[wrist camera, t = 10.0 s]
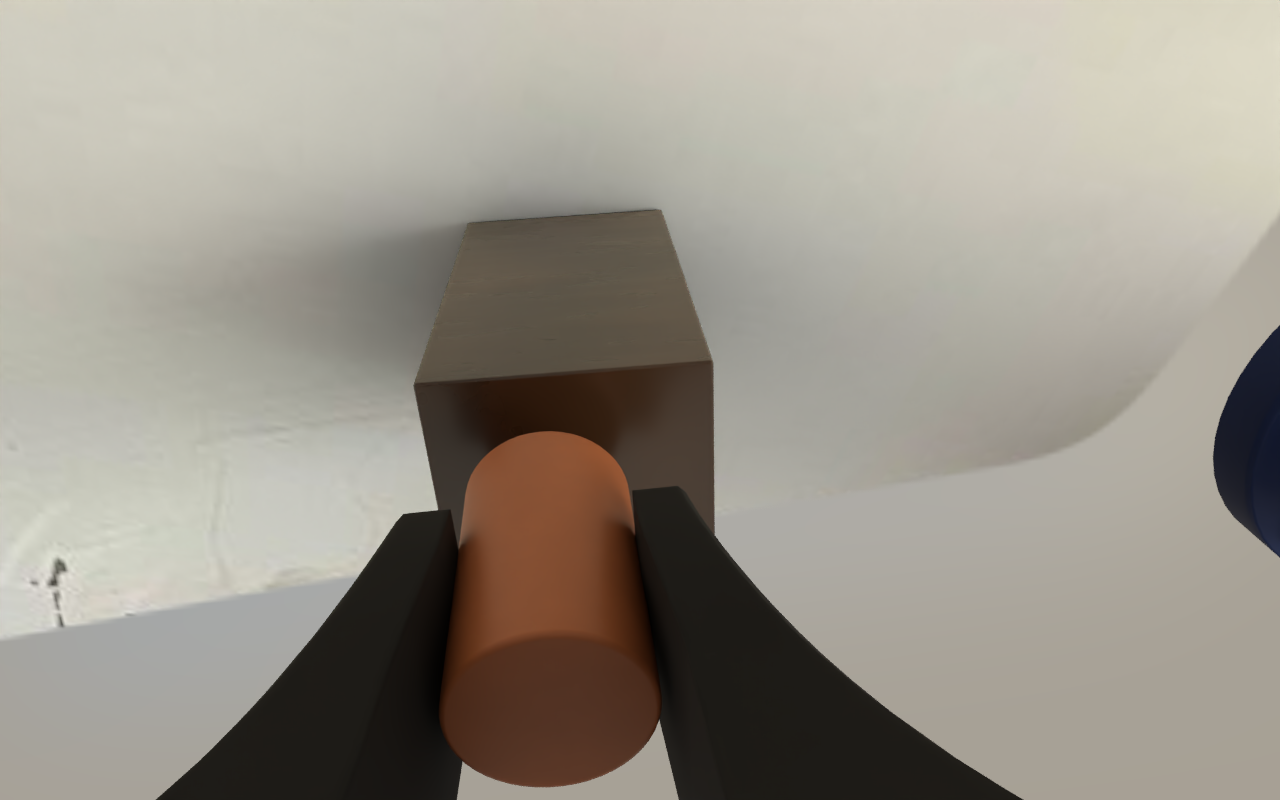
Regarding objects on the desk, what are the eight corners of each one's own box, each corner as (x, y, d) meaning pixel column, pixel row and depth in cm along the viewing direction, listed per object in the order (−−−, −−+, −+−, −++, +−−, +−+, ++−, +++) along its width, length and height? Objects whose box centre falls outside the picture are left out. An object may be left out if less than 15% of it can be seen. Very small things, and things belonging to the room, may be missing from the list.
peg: (623, 421, 12) (658, 621, 9) (632, 553, 13) (666, 775, 10) (452, 437, 12) (419, 649, 8) (478, 569, 13) (457, 802, 10)
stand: (661, 208, 20) (713, 361, 13) (667, 380, 22) (715, 590, 15) (467, 222, 20) (412, 384, 13) (493, 393, 22) (458, 613, 15)
